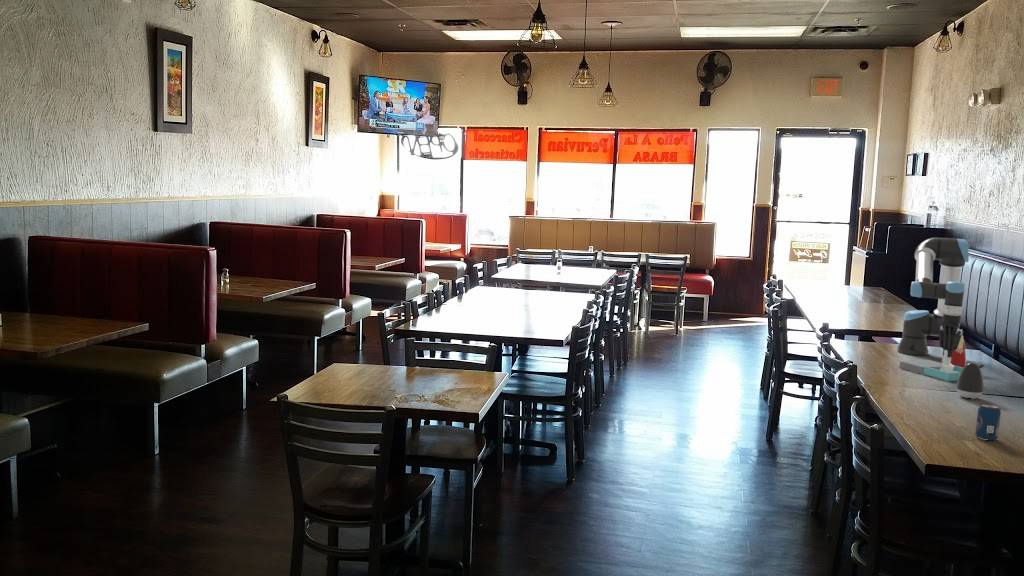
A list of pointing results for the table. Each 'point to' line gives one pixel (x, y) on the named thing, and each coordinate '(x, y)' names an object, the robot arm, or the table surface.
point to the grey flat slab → (919, 365)
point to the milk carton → (959, 355)
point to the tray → (943, 373)
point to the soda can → (988, 421)
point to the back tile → (947, 367)
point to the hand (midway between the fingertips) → (946, 363)
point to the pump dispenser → (970, 381)
